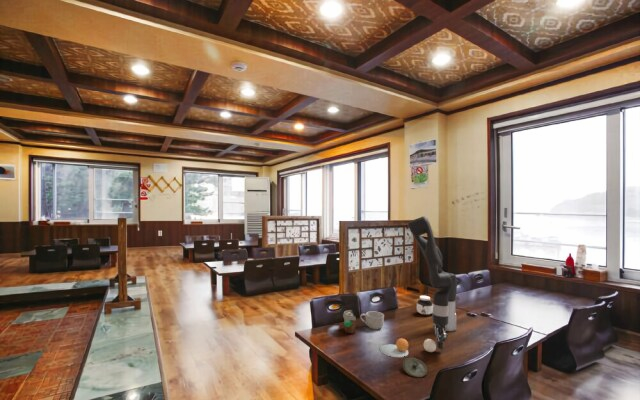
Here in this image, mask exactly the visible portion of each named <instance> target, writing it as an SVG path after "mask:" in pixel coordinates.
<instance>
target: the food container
mask: <svg viewBox="0 0 640 400" xmlns="http://www.w3.org/2000/svg"><path fill="white" fill-rule="evenodd" d="M342 317H343V319H344V321H343V323H344V332H345V333H347V334H353V335H356V322H357V317H356V316H355V315H354V313H353V309H349V310H345V311H344V312H343V315H342Z"/></svg>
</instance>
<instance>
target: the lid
mask: <svg viewBox="0 0 640 400" xmlns="http://www.w3.org/2000/svg"><path fill="white" fill-rule="evenodd" d="M401 366H402V369H403V371H404V372H405V373H406V374H407V375H409V376H410V377H413V378H423V377H424V376H425V375H427V373H428V366H427V364H426V363H425V362H424V361H422V360H421V359H418V358H417V357H412V356H411V357H406V358H405V359H403V360H402V363H401Z"/></svg>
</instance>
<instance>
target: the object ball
mask: <svg viewBox="0 0 640 400" xmlns="http://www.w3.org/2000/svg"><path fill="white" fill-rule="evenodd" d="M395 345H396V347H397V349H398V350H400V351H406V350H408V349H409V345H410V344H409V342H408V341H407V340H406V339H405V338H402V337H401V338H398V339H397V340H396V342H395Z"/></svg>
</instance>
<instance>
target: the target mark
mask: <svg viewBox="0 0 640 400" xmlns="http://www.w3.org/2000/svg"><path fill="white" fill-rule="evenodd" d="M379 351H380V352H381V353H382V354H384V355H385V356H387V357H390V356H391V357H392V358H405V357H407V356H408V355H409V350H408V349H407V350H406V351H400V350H398V349H397V347H396V344H393V343H389V344H383V345H381V346H380V347H379ZM404 356H405V357H404Z"/></svg>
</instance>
